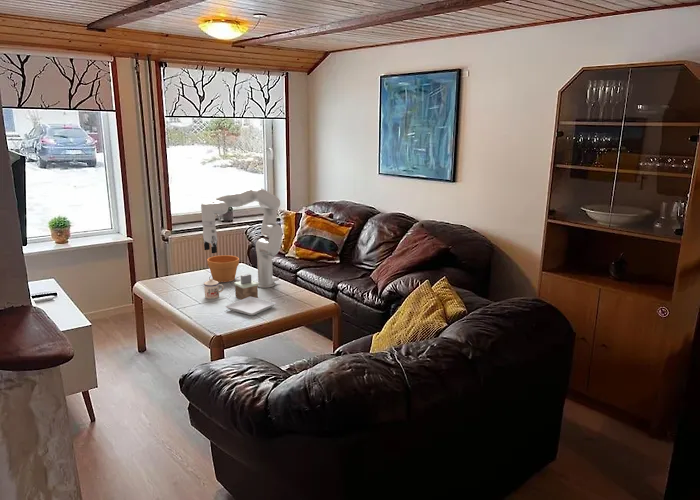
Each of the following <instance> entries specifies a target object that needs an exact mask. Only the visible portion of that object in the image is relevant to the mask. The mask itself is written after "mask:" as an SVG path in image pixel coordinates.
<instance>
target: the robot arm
mask: <svg viewBox="0 0 700 500" xmlns="http://www.w3.org/2000/svg"><path fill="white" fill-rule="evenodd" d="M253 202H258V204H259V206H260V208H262V209H261V210H262V211H263V218H262V222H261V223H262V224H261V228H260V233H261V235H262V236H264V238H259V239H258V240H257V241H256V242H255V251H256V257H257V258H256V259H257V281H256V282H257V283H259V285H258V288H261V289H262V288H263V289H265V288H266V289H267V288H272V287H274V286H276V283H275V282H277V281H280V279H279V277H273V256H276V255H278V253H279V251H280V249H281V244H282V240H283V233H284V232H283V228H282V226H281V225H279V224H277V218H278V213H277V210H278V209H279V208H280V206H281V200H280V198H279V197H277V196H276V195H274V194H273V193H272V192H269V191H267V189H266V190H265V189H264V188H259V187H250V188H247V189H245V190H242V191H238V192H236V193H232V194H227V195H222V196H219V197H216V198H213V199H211V200H210V201H208V202H203V203H201V205H200V206H201V207H200V211H201V222H202V223H201V225H202V240H203V248H204V251H208V250H210V251H211V254H217V253H218V247H217V246H218V233H217V227H216V215H224V214H226V213H227V212H229V208H239V207H243V206H246V205H248V204H251V203H253ZM265 237H267V238H265ZM210 245H211V246H210ZM210 247H211V248H210Z"/></svg>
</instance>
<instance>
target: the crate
mask: <svg viewBox="0 0 700 500" xmlns="http://www.w3.org/2000/svg"><path fill="white" fill-rule="evenodd" d="M258 288H259V287H258V285H257V286H253V287H248V288H241V287H238V286H236V285H234V292H235V298H238V299H239V300H242V299H244V298H247V297H250V296H251V297H255V298H259V293H258V291H259V290H258Z"/></svg>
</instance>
